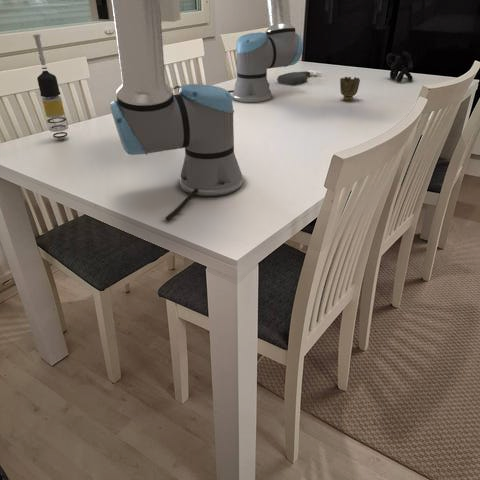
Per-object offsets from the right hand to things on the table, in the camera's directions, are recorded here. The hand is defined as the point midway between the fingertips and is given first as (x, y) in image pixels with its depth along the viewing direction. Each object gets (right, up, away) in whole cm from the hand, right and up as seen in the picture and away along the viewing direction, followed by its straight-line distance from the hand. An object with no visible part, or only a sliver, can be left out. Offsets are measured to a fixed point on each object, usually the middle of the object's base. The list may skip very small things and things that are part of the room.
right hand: (351, 23), depth 139 cm
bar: (-63, -9, -20) cm, 66 cm away
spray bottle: (-7, +6, +66) cm, 66 cm away
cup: (+7, -13, +34) cm, 37 cm away
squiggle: (+37, +4, +61) cm, 72 cm away
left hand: (-70, -8, -19) cm, 73 cm away
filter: (-91, -36, +1) cm, 98 cm away
